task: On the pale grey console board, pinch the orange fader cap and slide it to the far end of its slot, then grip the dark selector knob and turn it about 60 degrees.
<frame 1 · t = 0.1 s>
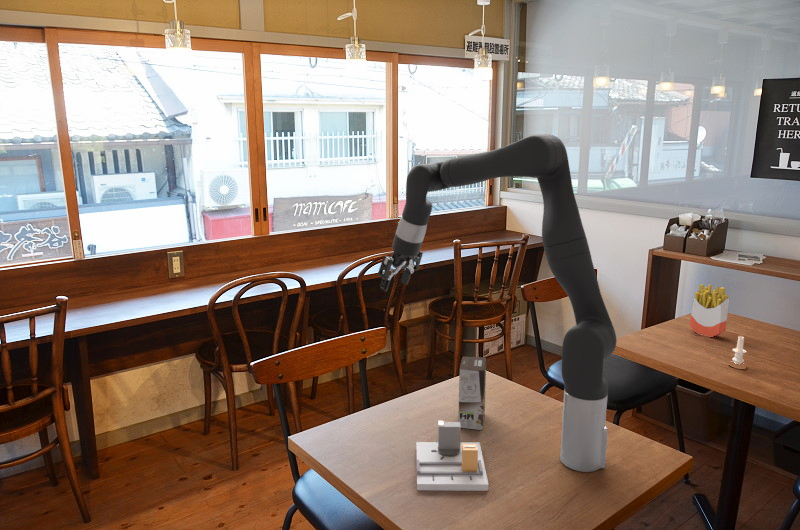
hand: (393, 286, 166), 31 cm above the table, tool tilted 20°, fingers open, 8 cm apart
french fries container: (706, 335, 218), on the table
fader: (469, 457, 131), point 5 cm above the table, slide at 0.0 cm
console board: (450, 467, 135), on the table
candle: (737, 367, 189), on the table
selector knob: (449, 436, 138), point 5 cm above the table, hinge at 0.0°
coffee box: (471, 421, 156), on the table
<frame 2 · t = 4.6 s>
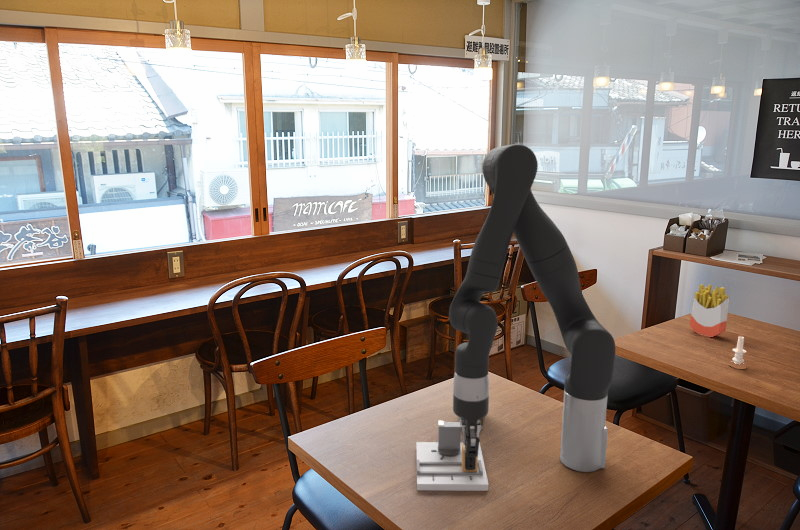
hand: (469, 464, 131), 3 cm above the table, tool pointing down, fingers closed on fader, 2 cm apart
fader: (469, 457, 131), point 5 cm above the table, slide at 0.0 cm, touching gripper
everything else where it was.
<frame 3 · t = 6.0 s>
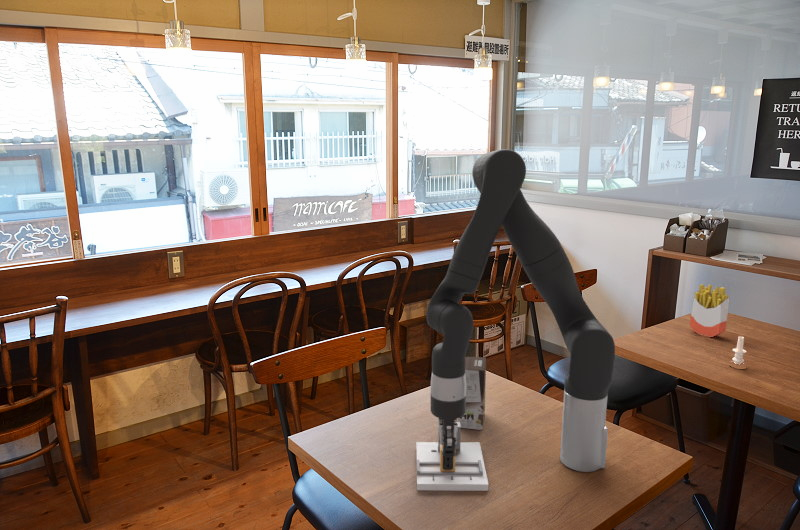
hand: (447, 464, 131), 3 cm above the table, tool pointing down, fingers closed on fader, 2 cm apart
fader: (447, 457, 131), point 5 cm above the table, slide at 4.8 cm, touching gripper
everything else where it was.
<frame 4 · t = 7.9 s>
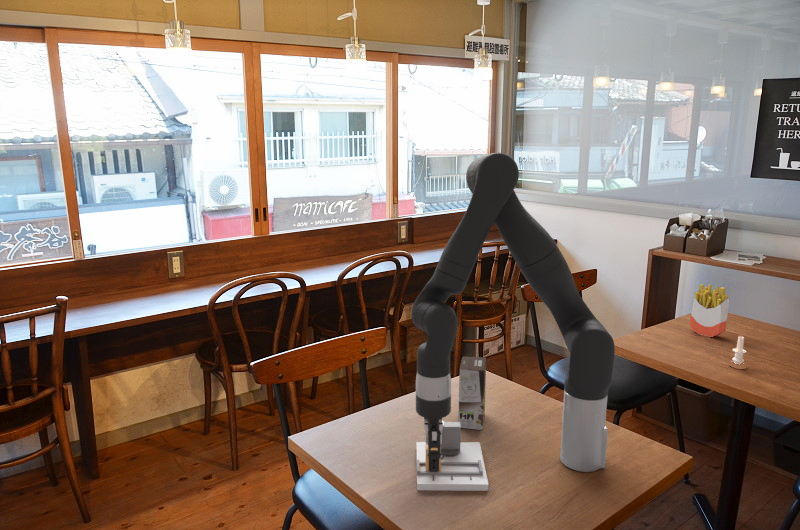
hand: (433, 459, 131), 4 cm above the table, tool pointing down, fingers open, 8 cm apart
fader: (433, 457, 131), point 5 cm above the table, slide at 8.0 cm
everything else where it was.
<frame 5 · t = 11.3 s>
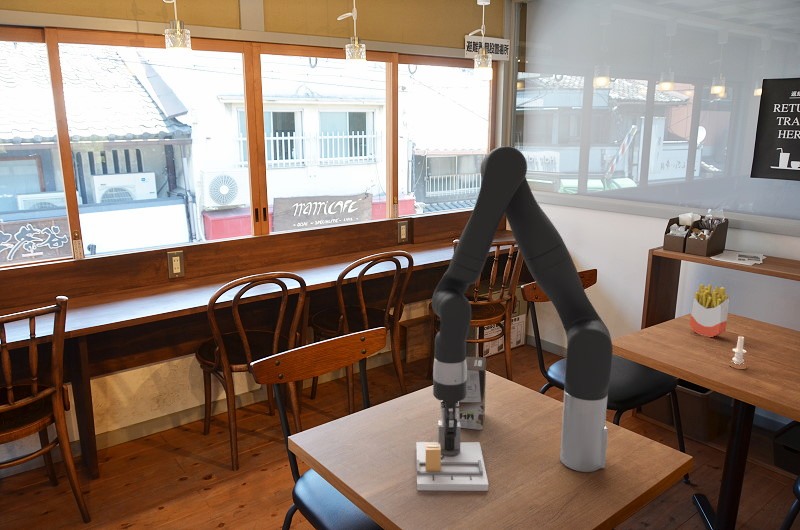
hand: (449, 445, 139), 3 cm above the table, tool pointing down, fingers closed on selector knob, 2 cm apart
selector knob: (449, 436, 138), point 5 cm above the table, hinge at 0.0°, touching gripper
everything else where it was.
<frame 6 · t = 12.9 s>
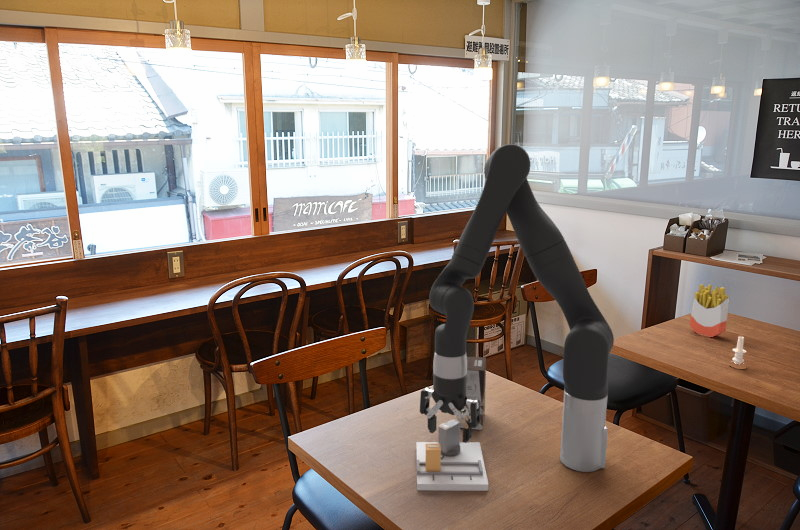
hand: (449, 436, 138), 5 cm above the table, tool pointing down, fingers open, 8 cm apart
selector knob: (449, 436, 138), point 5 cm above the table, hinge at 47.0°
everything else where it was.
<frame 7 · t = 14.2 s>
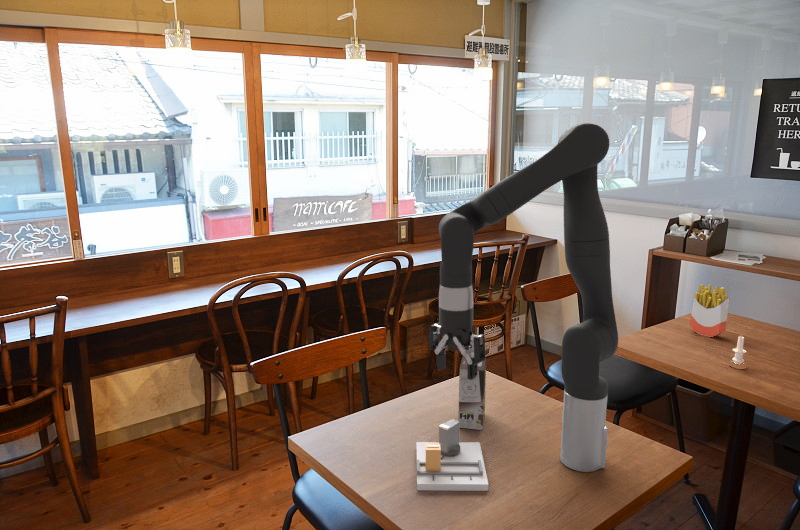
hand: (456, 373, 135), 20 cm above the table, tool pointing down, fingers open, 8 cm apart
selector knob: (449, 436, 138), point 5 cm above the table, hinge at 52.2°
everything else where it was.
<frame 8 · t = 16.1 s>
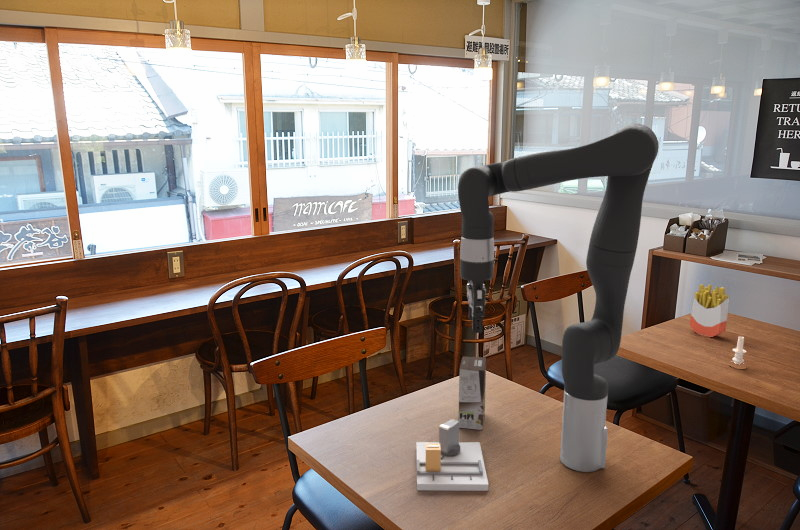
hand: (475, 326, 137), 30 cm above the table, tool pointing down, fingers open, 8 cm apart
selector knob: (449, 436, 138), point 5 cm above the table, hinge at 53.7°
everything else where it was.
at the end: fader slide at 8.0 cm; selector knob at +54° (first picture: +0°); the gripper is holding nothing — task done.
